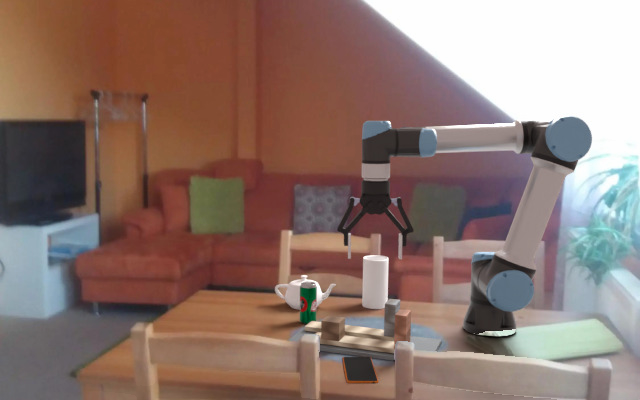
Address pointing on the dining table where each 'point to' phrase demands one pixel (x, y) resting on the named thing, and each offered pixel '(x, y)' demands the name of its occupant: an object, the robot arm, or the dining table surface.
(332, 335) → the block
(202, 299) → the dining table surface
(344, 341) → the strip
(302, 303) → the soda can
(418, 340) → the board
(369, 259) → the cup
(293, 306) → the teapot
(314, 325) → the strip
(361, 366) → the smartphone
